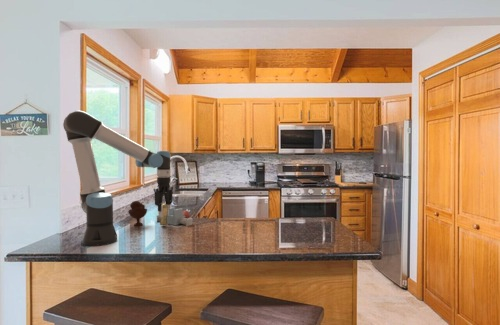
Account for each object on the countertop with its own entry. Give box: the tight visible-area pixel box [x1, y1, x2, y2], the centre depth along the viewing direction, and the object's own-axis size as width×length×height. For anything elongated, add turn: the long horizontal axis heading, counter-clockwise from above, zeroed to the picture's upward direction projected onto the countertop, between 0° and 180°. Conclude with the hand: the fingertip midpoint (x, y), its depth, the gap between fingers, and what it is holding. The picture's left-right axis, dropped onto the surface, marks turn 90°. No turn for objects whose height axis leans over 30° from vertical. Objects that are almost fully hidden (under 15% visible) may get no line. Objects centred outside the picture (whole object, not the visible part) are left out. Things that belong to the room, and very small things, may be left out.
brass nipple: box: [159, 203, 168, 226], centre depth 181 cm, size 4×4×12 cm
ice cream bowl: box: [127, 200, 148, 227], centre depth 184 cm, size 11×11×15 cm
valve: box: [156, 206, 194, 227], centre depth 192 cm, size 15×26×9 cm, turn 59°
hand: (163, 216), depth 181 cm, fingers closed on brass nipple, 4 cm apart
